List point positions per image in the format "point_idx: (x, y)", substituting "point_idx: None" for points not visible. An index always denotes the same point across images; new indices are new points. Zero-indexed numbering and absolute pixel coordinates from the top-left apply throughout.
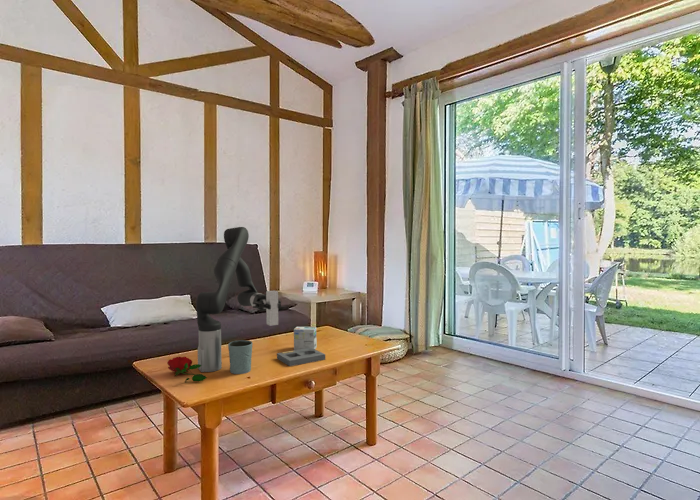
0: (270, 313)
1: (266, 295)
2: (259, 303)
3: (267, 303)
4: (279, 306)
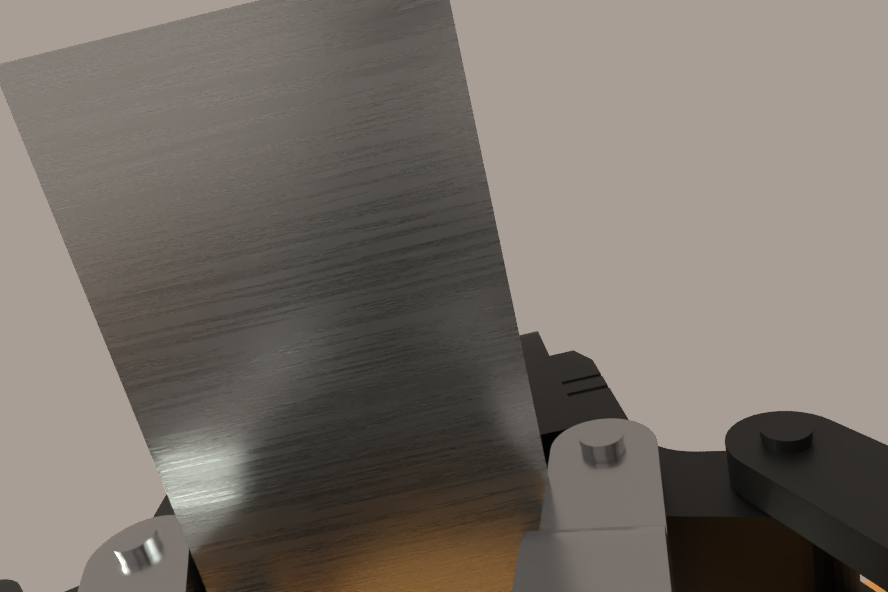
0: None
1: (484, 170)
2: (854, 434)
3: None
4: None
